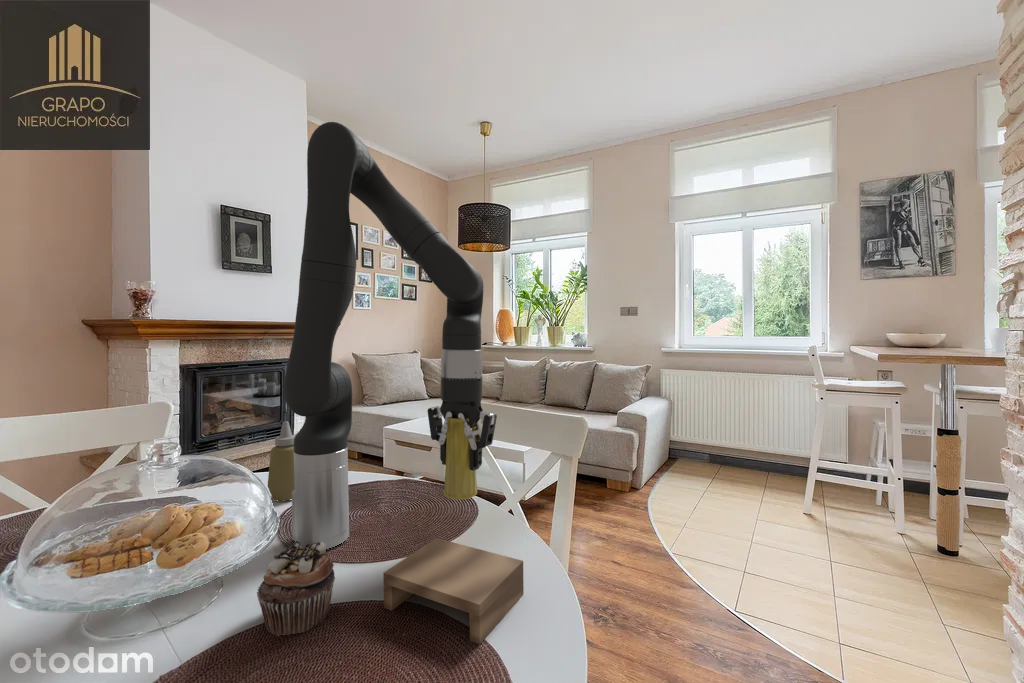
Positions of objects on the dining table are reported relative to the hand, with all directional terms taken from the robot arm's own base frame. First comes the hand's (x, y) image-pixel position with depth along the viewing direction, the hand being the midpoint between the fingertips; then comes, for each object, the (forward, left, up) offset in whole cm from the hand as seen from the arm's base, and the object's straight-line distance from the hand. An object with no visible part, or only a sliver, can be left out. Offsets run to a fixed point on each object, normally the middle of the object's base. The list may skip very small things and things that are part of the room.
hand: (460, 466), depth 82 cm
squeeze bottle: (-50, 0, -14) cm, 52 cm away
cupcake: (-8, -28, -14) cm, 32 cm away
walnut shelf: (+9, -15, -14) cm, 23 cm away
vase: (0, 0, -5) cm, 5 cm away
